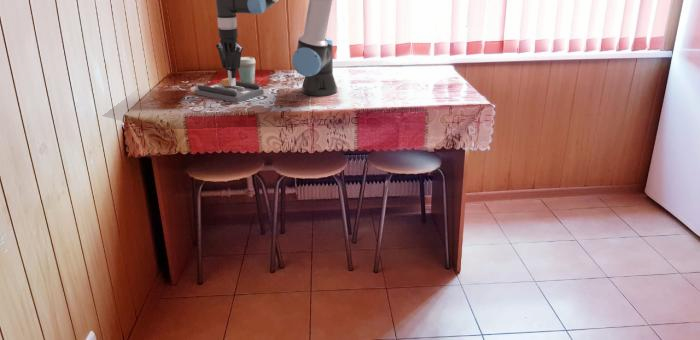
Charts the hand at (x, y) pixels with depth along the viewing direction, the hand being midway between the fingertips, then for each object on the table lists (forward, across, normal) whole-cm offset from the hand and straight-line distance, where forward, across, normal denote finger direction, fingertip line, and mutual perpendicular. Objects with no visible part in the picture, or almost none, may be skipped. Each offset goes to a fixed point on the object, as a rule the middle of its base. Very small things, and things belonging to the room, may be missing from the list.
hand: (232, 85), depth 217 cm
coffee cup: (+4, +7, -17) cm, 19 cm away
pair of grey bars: (+2, +3, 0) cm, 3 cm away
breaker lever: (+2, +2, 0) cm, 3 cm away
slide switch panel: (+4, +2, 0) cm, 5 cm away
